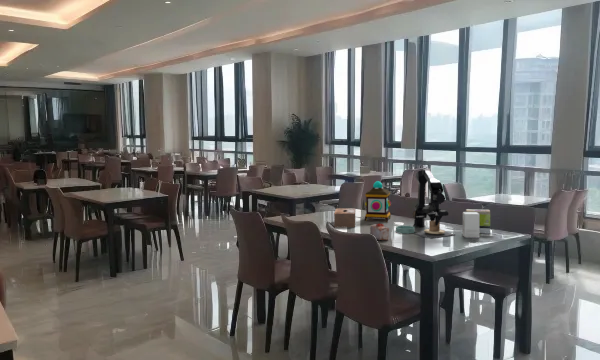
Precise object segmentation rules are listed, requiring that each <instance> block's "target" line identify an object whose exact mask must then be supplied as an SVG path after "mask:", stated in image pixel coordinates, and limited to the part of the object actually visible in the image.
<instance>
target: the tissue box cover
mask: <svg viewBox="0 0 600 360" xmlns="http://www.w3.org/2000/svg"><path fill="white" fill-rule="evenodd" d="M333 221H334V223H333V225H334V227H333V228H356V208H353V207H351V208H348V207H347V208H346V207H345V208H342V207H341V208H338V207H337V208H336V209H335V211H334V213H333Z"/></svg>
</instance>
